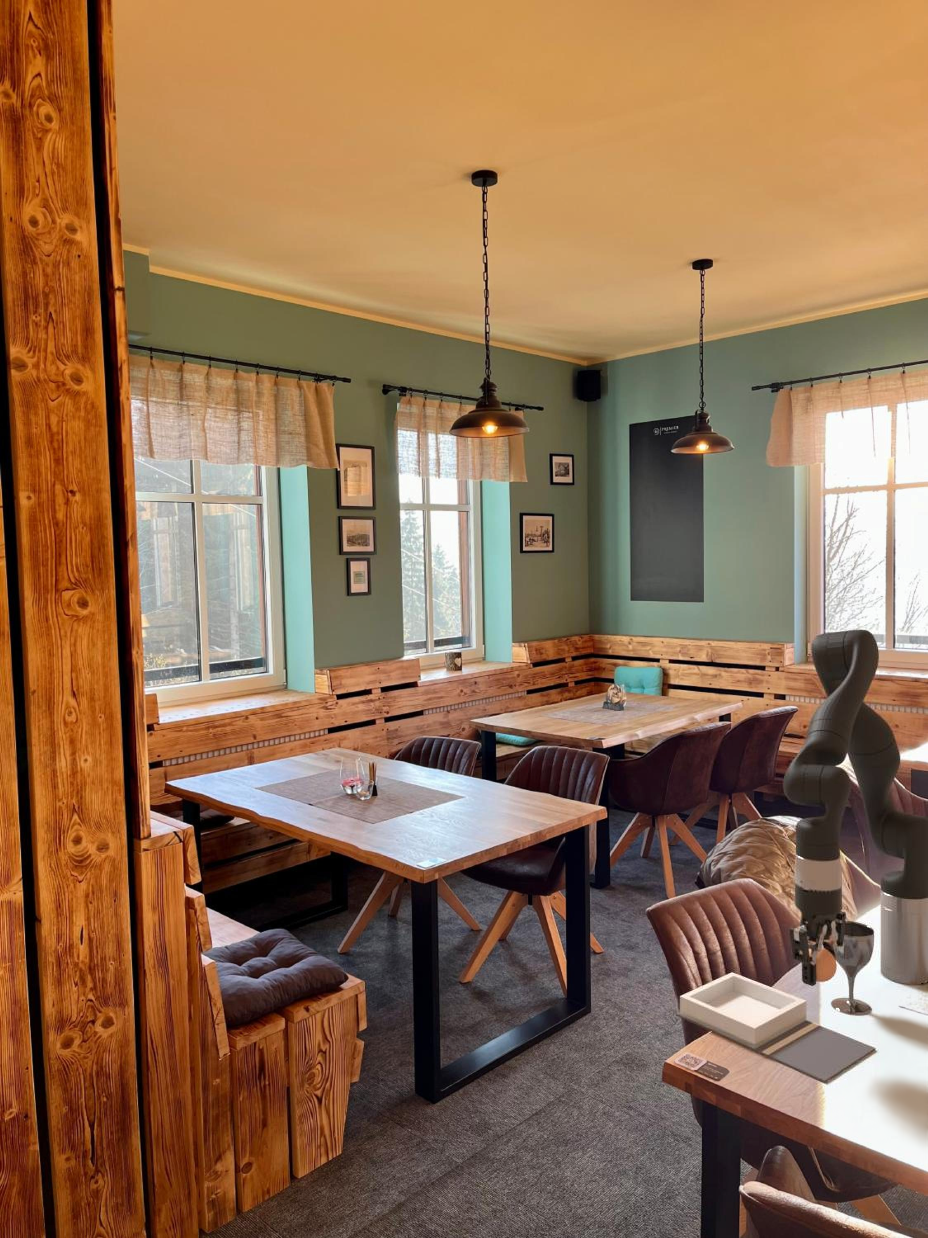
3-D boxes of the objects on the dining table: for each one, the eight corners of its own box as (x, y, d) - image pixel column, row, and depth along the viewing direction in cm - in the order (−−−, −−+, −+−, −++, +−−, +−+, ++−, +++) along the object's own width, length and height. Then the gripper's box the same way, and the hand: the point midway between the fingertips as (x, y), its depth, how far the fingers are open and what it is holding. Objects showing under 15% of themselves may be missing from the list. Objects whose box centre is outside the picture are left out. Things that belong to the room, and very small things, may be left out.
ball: (812, 970, 159) (812, 939, 159) (843, 981, 155) (842, 948, 155) (795, 980, 156) (794, 947, 155) (825, 991, 151) (825, 958, 151)
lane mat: (727, 990, 180) (727, 988, 180) (875, 1050, 156) (875, 1047, 156) (675, 1015, 170) (675, 1013, 170) (824, 1083, 146) (824, 1080, 146)
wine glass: (819, 1001, 174) (819, 924, 174) (851, 994, 177) (851, 918, 177) (850, 1020, 167) (850, 939, 166) (883, 1012, 170) (883, 932, 169)
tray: (732, 990, 179) (732, 972, 179) (806, 1020, 166) (806, 1001, 166) (680, 1015, 169) (679, 996, 169) (754, 1049, 156) (754, 1028, 156)
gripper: (820, 867, 162) (821, 960, 163) (774, 885, 153) (775, 984, 154) (860, 877, 156) (861, 973, 157) (815, 897, 147) (816, 999, 148)
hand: (818, 978), depth 155 cm, fingers closed on ball, 5 cm apart
